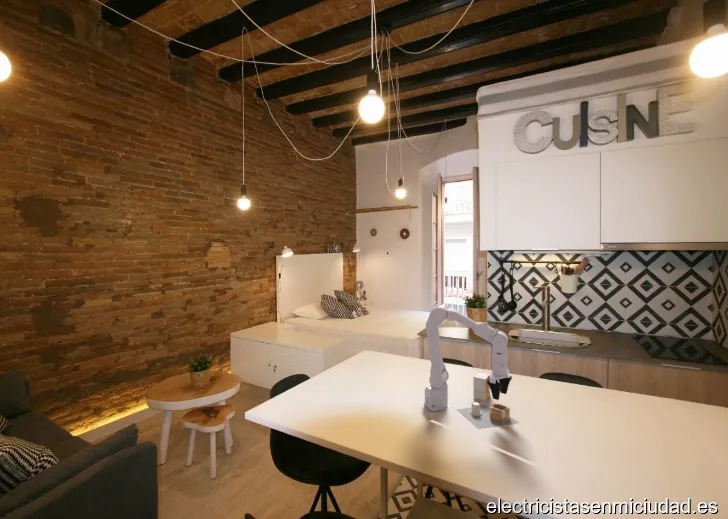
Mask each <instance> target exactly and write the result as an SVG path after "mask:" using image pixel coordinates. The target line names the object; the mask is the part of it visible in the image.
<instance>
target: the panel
mask: <svg viewBox="0 0 728 519" xmlns="http://www.w3.org/2000/svg"><path fill="white" fill-rule="evenodd" d="M491 406H492V404H490V405H489V404H488V405H481V404H480V403H479V402H477V401H475V402H471V407H466V408H458V409H456V411H457V412H459V413H460V414H461V415H462V416H463V417H464V418H466V419H467V420H468V421H469V422H470V423H471V424H472V425H473V426H474V427H475V428H477V429H478V430H480V429H481V430H482V429H486V428H494V427H499V426H500V427H501V426H502V427H503V426H507V425H515V424H520V421H517V420H516V419H514V418H513V417H512V416H510V419H508V420H507V421H506V422H505V423H502V422H499V421H496V420H494V419H491V418H490V407H491Z"/></svg>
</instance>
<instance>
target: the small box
mask: <svg viewBox="0 0 728 519" xmlns="http://www.w3.org/2000/svg"><path fill="white" fill-rule="evenodd" d="M490 377H491V374H489V373H485V372H479V371H478V372H477V373H476V374H475V375H474V376H473V383H472V384H473V392H472V393H473V399H475V400H480V401H484V402H486V401H487V400H488V398H489V397H491V396H490V395H491V389H490V387H489V385H488V383H487V380H489V379H490Z"/></svg>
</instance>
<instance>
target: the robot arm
mask: <svg viewBox="0 0 728 519" xmlns="http://www.w3.org/2000/svg"><path fill="white" fill-rule="evenodd" d="M444 321H447V322H452V321H455V322H458V323H459V324H462V325H463V326H465V327H468V328H470V329H471V330H472V331H473V333H474V334H475V335H476V336H478V337H479V338H481V339H483V340H484V341H487V342H488V343H491V345H492V350H491V355H492V356H491V367H492V368H491V374H490V379H489V380H487V383H488V385H489V387H490V394H491V396H492V399H494V400H496V401H499V399H500V396H501V395H500V394H504V395H507V393H508V390H509V386H510V383H511V381H512V379H513V376H512V375H511V374H510V369H509V368H508V363H509V362H508V360H509V359H508V354H509V353H508V341H509V338H508V335H507V334H506V333H505V332H504V331H503V330H499V329H498V328H494V327H492V326H490V325H489V324H488V322H486V321H484V322H482V321H479V322H477V321H475V320H474V319H471V318H469V316H466V315H465V314H463V313H462V312H459V311H458V310H456V309H455V308H453V307H450V306H448V305H447V304H441V305H439V306H437V307H435V308H433V309H432V311H430V312H429V316H428V319H427V320H426V322H425V329H426V330H425V331H426V336H427V337H426V338H427V344H428V350H429V357H430V371H429V374H430V376H429V379H428V381H429V384H430V385H429V386H427V387H425V388H424V402H423V404H424V406H426V407H427V409H428V410H430V412H438V411H443V410H445V409H447V408H448V407H450V405H449V404H448V397H449V396H448V395H449V394H448V390H449V389H448V387H449V385H448V384H447V381H448V380H449V376H450V375H449V371H448V370H447V368H446V365H445V363H444V359H443V351H442V347H441V338H440V332H439V327H440V325H441V324H442V323H443V322H444Z"/></svg>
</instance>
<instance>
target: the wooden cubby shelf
mask: <svg viewBox="0 0 728 519" xmlns="http://www.w3.org/2000/svg"><path fill="white" fill-rule="evenodd" d="M491 405H492V406H491V407H490V418H491V419H494V420H496V421H499V422H502V423H505V422H506V421H507V420H508V419H510V417H511V406H508V405H504V404H501V403H499V402H494V403H492V404H491Z"/></svg>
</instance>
